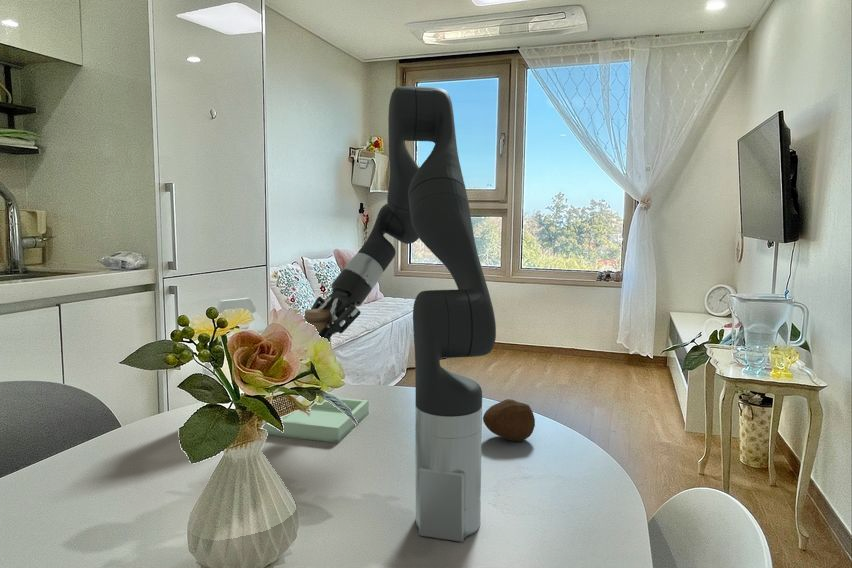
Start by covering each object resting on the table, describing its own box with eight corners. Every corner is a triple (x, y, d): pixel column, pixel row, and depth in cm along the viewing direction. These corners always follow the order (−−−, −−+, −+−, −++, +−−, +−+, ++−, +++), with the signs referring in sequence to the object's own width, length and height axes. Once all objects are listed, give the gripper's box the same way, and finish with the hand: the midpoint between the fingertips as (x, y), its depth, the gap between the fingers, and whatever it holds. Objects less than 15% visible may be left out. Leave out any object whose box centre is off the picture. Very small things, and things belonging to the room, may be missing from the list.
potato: (538, 446, 104) (539, 406, 103) (487, 448, 103) (487, 408, 102) (527, 431, 111) (528, 393, 110) (479, 433, 110) (479, 394, 109)
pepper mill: (324, 368, 110) (323, 314, 109) (301, 366, 112) (299, 312, 110) (335, 361, 115) (334, 309, 114) (313, 359, 117) (311, 308, 115)
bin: (338, 442, 105) (338, 427, 105) (264, 434, 109) (263, 419, 109) (368, 413, 121) (368, 400, 120) (302, 407, 125) (301, 394, 124)
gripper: (328, 264, 121) (280, 326, 115) (367, 270, 110) (316, 338, 104) (349, 286, 125) (304, 347, 119) (388, 294, 115) (340, 361, 108)
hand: (310, 342), depth 112 cm, fingers closed on pepper mill, 5 cm apart
